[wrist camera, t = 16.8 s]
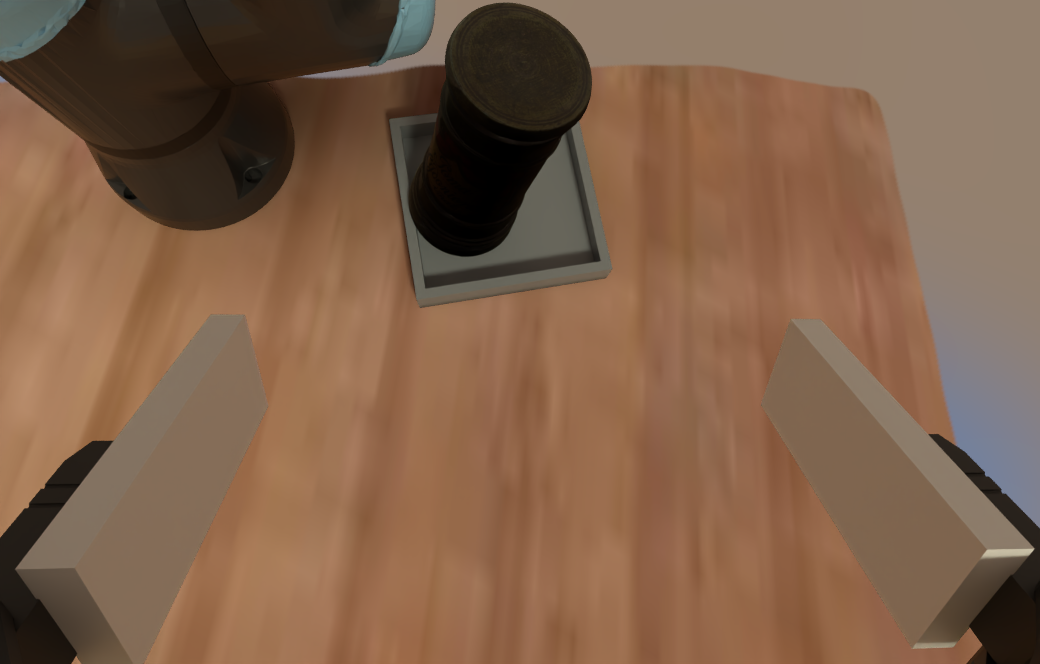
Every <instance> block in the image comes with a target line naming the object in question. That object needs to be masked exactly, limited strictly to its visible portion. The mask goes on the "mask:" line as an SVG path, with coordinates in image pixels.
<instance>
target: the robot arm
mask: <svg viewBox="0 0 1040 664" xmlns="http://www.w3.org/2000/svg"><path fill="white" fill-rule="evenodd" d="M434 16H435V0H0V76H1V77H3V78H4V79H5V80H6V81H8V82H9V83H10V84H11V85H13V86H14V87H15V88H17V89H18V90H19V91H21V92H22V93H23V94H25V95H26V96H27V97H28V98H30V99H31V100H32V101H34V102H35V103H36V104H38V105H39V106H40V107H41V108H43V109H44V110H45V111H47V112H48V113H49V114H51V115H52V116H53V117H54V118H56V119H57V120H58V121H60V122H61V123H62V124H64V125H65V126H66V127H67V128H69V129H70V130H71V131H73V132H74V133H75V134H77V135H78V136H79V137H80V138H82V139H83V140H84V141H85V143H86V145H87V146H88V148H89V150H90V152H91V154H92V156H93V157H94V159H95V161H96V163H97V165H98V167H99V169H100V170H101V172H102V174H103V176H104V178H105V179H106V181H107V182H108V184H109V185H110V187H111V188H112V189H113V190H114V191H115V192H116V193H117V195H119V196H120V197H121V198H122V199H123V200H124V201H125V202H126V203H128V204H129V205H130V206H132V207H133V208H135V209H136V210H137V211H139V212H140V213H142V214H143V215H144V216H146V217H148V218H149V219H151V220H153V221H155V222H157V223H160V224H162V225H165V226H168V227H172V228H176V229H182V230H210V229H216V228H221V227H225V226H228V225H231V224H234V223H236V222H239V221H241V220H243V219H245V218H247V217H249V216H250V215H252V214H254V213H255V212H257V211H258V210H259V209H261V208H262V207H263V206H264V205H266V204H267V203H268V202H269V201H270V200H271V199H272V198H273V197H274V195H275V194H276V193H277V192H278V190H279V189H280V188H281V186H282V185H283V183H284V181H285V179H286V177H287V175H288V173H289V171H290V168H291V165H292V161H293V156H294V133H293V128H292V124H291V121H290V119H289V116H288V114H287V112H286V110H285V108H284V107H283V105H282V103H281V101H280V100H279V98H278V96H277V95H276V93H275V92H274V90H273V89H272V88H271V87H270V85H269V84H268V83H267V82H268V81H273V80H279V79H285V78H291V77H298V76H304V75H310V74H316V73H323V72H329V71H336V70H342V69H349V68H354V67H361V66H370V67H371V66H378V65H381V64H383V63H385V62H386V61H387V60H391V59H395V58H400V57H404V56H408V55H412V54H415V53H416V52H418V51H420V50H421V49H422V48H423V47H424V46H425V44H426V43H427V41H428V40H429V37H430V35H431V32H432V28H433V23H434ZM761 406H762V408H763V409H764V411H765V412H766V414H767V416H768V417H769V419H770V420H771V422H772V424H773V425H774V427H775V429H776V430H777V432H778V433H779V435H780V437H781V438H782V440H783V441H784V443H785V445H786V446H787V448H788V449H789V451H790V453H791V454H792V456H793V458H794V459H795V461H796V462H797V464H798V466H799V467H800V469H801V470H802V472H803V474H804V475H805V477H806V478H807V480H808V482H809V483H810V485H811V487H812V488H813V490H814V491H815V493H816V495H817V496H818V498H819V499H820V501H821V503H822V504H823V506H824V507H825V509H826V511H827V512H828V514H829V516H830V517H831V519H832V520H833V522H834V524H835V525H836V527H837V528H838V530H839V532H840V533H841V535H842V536H843V538H844V540H845V541H846V543H847V545H848V546H849V548H850V549H851V551H852V553H853V554H854V556H855V557H856V559H857V561H858V562H859V564H860V565H861V567H862V569H863V570H864V572H865V574H866V575H867V577H868V578H869V580H870V582H871V583H872V585H873V586H874V588H875V590H876V591H877V593H878V594H879V596H880V598H881V599H882V601H883V603H884V604H885V606H886V607H887V609H888V611H889V612H890V614H891V615H892V617H893V619H894V620H895V622H896V623H897V625H898V627H899V628H900V630H901V632H902V633H903V635H904V636H905V638H906V640H907V641H908V643H909V644H910V646H911V648H912V649H913V648H945V647H954V646H955V644H956V643H957V642H958V641H959V640H960V638H961V637H962V636H963V635H964V633H965V632H966V631H967V630H968V629H969V627H970V628H971V630H972V631H973V632H974V634H975V635H976V637H977V638H978V639H979V641H980V642H981V643H982V647H981V648H980V649H979V650H978V651H977V652H976V653H975V655H974V656H973V657H972V658H971V659H970V660H969V661H968V663H967V664H1040V528H1039V527H1038V526H1037V525H1036V524H1035V523H1034V522H1033V521H1032V520H1031V519H1030V518H1029V517H1028V516H1027V515H1026V514H1025V513H1024V512H1023V511H1022V510H1021V509H1020V508H1019V507H1018V506H1017V505H1016V504H1015V503H1014V502H1013V501H1012V500H1011V499H1010V498H1009V497H1008V496H1007V495H1006V494H1002V492H1001V488H1000V487H999V486H998V485H997V484H995V482H993V480H992V479H991V478H990V477H986V476H985V472H984V471H983V470H982V469H981V468H980V467H979V466H978V465H977V464H976V463H975V462H974V461H973V460H972V459H971V458H970V457H969V456H968V455H967V453H965V452H964V451H963V450H961V449H960V448H958V447H957V446H955V445H954V444H952V443H951V442H949V441H948V440H946V439H945V438H943V437H942V436H940V435H939V434H927V433H926V432H925V431H924V430H923V429H922V428H921V426H920V425H919V424H918V423H917V422H916V421H915V420H914V419H913V418H912V417H911V416H910V415H909V414H908V413H907V411H906V410H905V409H904V408H903V407H902V406H901V405H900V404H899V403H898V402H897V401H896V400H895V399H894V398H893V396H892V395H891V394H890V393H889V392H888V391H887V390H886V389H885V388H884V387H883V386H882V385H881V384H880V383H879V381H878V380H877V379H876V378H875V377H874V376H873V375H872V374H871V373H870V372H869V371H868V370H867V369H866V368H865V366H864V365H863V364H862V363H861V362H860V361H859V360H858V359H857V358H856V357H855V356H854V355H853V354H852V353H851V351H850V350H849V349H848V348H847V347H846V346H845V345H844V344H843V343H842V342H841V341H840V340H839V339H838V338H837V336H836V335H835V334H834V333H833V332H832V331H831V330H830V329H829V328H828V327H827V326H826V325H825V324H824V323H823V321H822V320H821V319H790V322H789V325H788V328H787V331H786V334H785V337H784V339H783V342H782V345H781V348H780V351H779V354H778V357H777V360H776V362H775V365H774V368H773V371H772V374H771V377H770V380H769V383H768V385H767V388H766V391H765V394H764V397H763V400H762V403H761ZM267 408H268V403H267V399H266V395H265V391H264V387H263V383H262V379H261V375H260V371H259V368H258V364H257V360H256V356H255V352H254V348H253V344H252V340H251V336H250V332H249V328H248V324H247V321H246V317H245V315H210V316H209V318H208V319H207V320H206V322H205V323H204V324H203V326H202V327H201V328H200V329H199V331H198V332H197V333H196V335H195V336H194V337H193V339H192V340H191V341H190V342H189V344H188V345H187V346H186V348H185V349H184V350H183V352H182V353H181V354H180V355H179V357H178V358H177V359H176V361H175V362H174V363H173V365H172V366H171V367H170V368H169V370H168V371H167V372H166V374H165V375H164V376H163V378H162V379H161V380H160V381H159V383H158V384H157V385H156V387H155V388H154V389H153V391H152V392H151V393H150V394H149V396H148V397H147V398H146V400H145V401H144V402H143V404H142V405H141V406H140V407H139V409H138V410H137V411H136V413H135V414H134V415H133V417H132V418H131V419H130V420H129V422H128V423H127V424H126V426H125V427H124V428H123V430H122V431H121V432H120V433H119V435H118V436H117V437H116V439H115V440H114V441H92V442H91V443H89V444H88V445H86V446H85V447H83V448H82V449H81V450H79V451H78V452H76V453H75V454H74V455H72V456H71V457H69V458H68V459H67V460H65V461H64V462H63V463H62V465H61V466H60V467H59V468H58V469H57V471H56V472H55V473H54V474H53V475H52V477H51V478H50V479H49V480H48V481H47V483H46V484H45V488H44V489H41V490H40V491H39V492H38V493H37V494H36V496H35V497H34V498H33V499H32V500H31V502H30V503H29V508H25V509H24V510H23V511H22V512H21V514H20V515H19V516H18V517H17V518H16V520H15V521H14V522H13V523H12V524H11V526H10V527H9V528H8V529H7V530H6V532H5V533H4V534H3V535H2V536H1V538H0V664H71V663H72V662H73V660H74V658H75V657H76V656H77V658H78V659H79V660H80V662H81V663H82V664H144V662H145V660H146V658H147V656H148V654H149V652H150V650H151V648H152V646H153V644H154V642H155V639H156V637H157V635H158V633H159V631H160V629H161V627H162V625H163V623H164V621H165V619H166V617H167V615H168V613H169V611H170V608H171V606H172V604H173V602H174V600H175V598H176V596H177V594H178V592H179V590H180V588H181V586H182V584H183V582H184V579H185V577H186V575H187V573H188V571H189V569H190V567H191V565H192V563H193V561H194V559H195V557H196V555H197V553H198V550H199V548H200V546H201V544H202V542H203V540H204V538H205V536H206V534H207V532H208V530H209V528H210V526H211V524H212V522H213V519H214V517H215V515H216V513H217V511H218V509H219V507H220V505H221V503H222V501H223V499H224V497H225V495H226V493H227V490H228V488H229V486H230V484H231V482H232V480H233V478H234V476H235V474H236V472H237V470H238V468H239V466H240V464H241V462H242V459H243V457H244V455H245V453H246V451H247V449H248V447H249V445H250V443H251V441H252V439H253V437H254V435H255V433H256V430H257V428H258V426H259V424H260V422H261V420H262V418H263V416H264V414H265V412H266V410H267Z"/></svg>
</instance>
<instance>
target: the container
mask: <svg viewBox="0 0 1040 664" xmlns="http://www.w3.org/2000/svg"><path fill="white" fill-rule="evenodd" d="M445 68H446V80H445V82H444V85H443V88H442V92H441V98H440V99H441V100H440V107H439V111H438V115H437V118H436V123H435V127H434V132H433V135H432V139H431V143H430V146H429V147H428V149H427V150H426V153H425V155H424V158H423V161H422V163H421V164H420V166H419V167H418V169H417V171H416V174H415V176H414V178H413V180H412V183H411V186H410V190H409V199H408V200H409V210H410V214H411V217H412V220H413V222H414V225H415V226H416V228H417V230H418V231H419V233H420V234H421V235H422V237H423V238H424V239H425V240H426V241H427V242H428V243H430V244H431V245H432V246H434V247H435V248H437V249H438V250H440V251H442V252H445V253H447V254H450V255H455V256H460V257H472V256H478V255H482V254H485V253H487V252H489V251H491V250H493V249H495V248H496V247H497V246H499V245H500V244H501V243H502V242H503V241H504V240H505V238H506V237H507V236H508V234H509V232H510V230H511V228H512V226H513V224H514V222H515V220H516V217H517V213H518V210H519V208H520V207H521V205H522V202H523V200H524V197H525V194H526V192H527V190H528V189H529V187H530V186H531V184H532V183H533V181H534V179H535V178H536V176H537V175H538V173H539V172H540V170H541V169H542V167H543V165H544V164H545V162H546V161H547V159H548V158H549V157H550V156H551V155H552V154H553V153H554V151H555V150H556V149H557V147H558V145H559V143H560V141H561V138H562V136H563V135H564V134H565V133H566V132H567V131H568V130H570V129H571V128H572V127H573V126H575V125H576V124H577V122H578V121H579V120H580V119H581V118H582V116H583V114H584V113H585V111H586V109H587V106H588V103H589V100H590V96H591V88H592V76H591V69H590V65H589V62H588V59H587V56H586V54H585V52H584V50H583V48H582V46H581V45H580V43H579V42H578V41H577V39H576V38H575V37H574V35H573V34H572V33H571V32H570V31H569V30H568V29H567V28H566V27H565V26H563V25H562V24H561V23H560V22H559V21H557V20H556V19H554V18H553V17H551V16H550V15H548V14H546V13H544V12H542V11H539V10H538V9H535V8H532V7H529V6H526V5H521V4H516V3H495V4H490V5H486V6H483V7H481V8H478V9H476V10H475V11H473V12H471V13H470V14H469V15H467V16H466V17H465V18H464V19H463V20H462V21H461V22H460V23H459V24H458V26H457V27H456V28H455V30H454V31H453V33H452V35H451V37H450V39H449V41H448V45H447V49H446V55H445Z"/></svg>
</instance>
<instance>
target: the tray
mask: <svg viewBox="0 0 1040 664" xmlns="http://www.w3.org/2000/svg"><path fill="white" fill-rule="evenodd" d="M437 115H438V113H434V114H426V115H418V116H410V117H402V118H394V119H389V123H390V129H391V136H392V142H393V149H394V155H395V162H396V168H397V175H398V181H399V188H400V195H401V201H402V208H403V214H404V221H405V227H406V234H407V240H408V247H409V253H410V260H411V266H412V273H413V279H414V286H415V292H416V299H417V302H418V304H419V307H420V308H422V307H429V306H435V305H441V304H447V303H454V302H460V301H466V300H472V299H479V298H485V297H491V296H497V295H504V294H510V293H516V292H522V291H529V290H535V289H541V288H548V287H554V286H560V285H566V284H573V283H579V282H585V281H591V280H598V279H604V278H606V277H607V276H608V274H609V273H610V272H611V270H612V265H611V261H610V256H609V252H608V248H607V243H606V239H605V234H604V230H603V225H602V221H601V216H600V212H599V208H598V203H597V199H596V194H595V190H594V185H593V181H592V177H591V172H590V168H589V163H588V159H587V154H586V150H585V145H584V141H583V137H582V132H581V128H580V123H579V121H578V122H577V124H576V125H575V126H573V127H572V128H571V129H570V130H568V131H567V132H566V133H565V134H564V135H563V136H562V138H561V141H560V143H559V145H558V147H557V149H556V150H555V151H554V153H553V154H552V155H551V156H550V157H549V158H548V159H547V161H546V162H545V164H544V165H543V167H542V169H541V170H540V172H539V173H538V175H537V176H536V178H535V179H534V181H533V183H532V184H531V186H530V187H529V189H528V190H527V192H526V194H525V197H524V200H523V202H522V205H521V207H520V208H519V210H518V213H517V217H516V220H515V222H514V224H513V226H512V228H511V230H510V232H509V234H508V236H507V237H506V238H505V240H504V241H503V242H502V243H501V244H500V245H499V246H497V247H496V248H495V249H493V250H491V251H489V252H487V253H485V254H482V255H478V256H472V257H460V256H455V255H450V254H447V253H445V252H442V251H440V250H438V249H437V248H435V247H434V246H432V245H431V244H430V243H428V242H427V241H426V240H425V239H424V238H423V237H422V235H421V234H420V233H419V231H418V230H417V228H416V226H415V225H414V222H413V220H412V217H411V214H410V210H409V200H408V199H409V190H410V186H411V183H412V180H413V178H414V176H415V174H416V171H417V169H418V167H419V166H420V164H421V163H422V161H423V158H424V155H425V153H426V150H427V149H428V147H429V146H430V143H431V139H432V135H433V132H434V127H435V123H436V118H437Z"/></svg>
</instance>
